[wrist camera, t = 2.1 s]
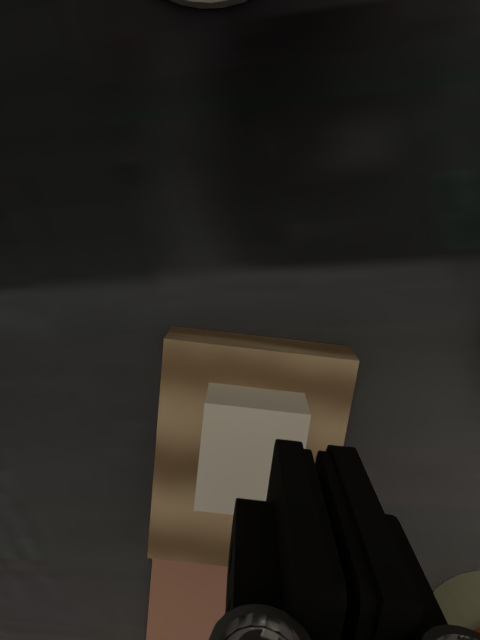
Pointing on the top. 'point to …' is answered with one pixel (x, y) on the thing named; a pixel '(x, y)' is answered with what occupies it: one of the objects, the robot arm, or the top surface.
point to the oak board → (187, 417)
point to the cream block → (244, 442)
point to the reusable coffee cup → (461, 600)
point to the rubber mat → (185, 600)
